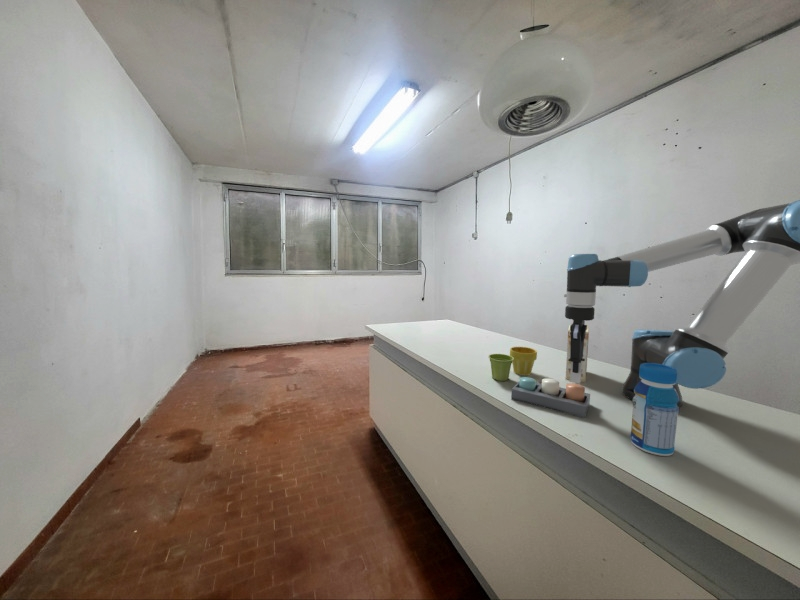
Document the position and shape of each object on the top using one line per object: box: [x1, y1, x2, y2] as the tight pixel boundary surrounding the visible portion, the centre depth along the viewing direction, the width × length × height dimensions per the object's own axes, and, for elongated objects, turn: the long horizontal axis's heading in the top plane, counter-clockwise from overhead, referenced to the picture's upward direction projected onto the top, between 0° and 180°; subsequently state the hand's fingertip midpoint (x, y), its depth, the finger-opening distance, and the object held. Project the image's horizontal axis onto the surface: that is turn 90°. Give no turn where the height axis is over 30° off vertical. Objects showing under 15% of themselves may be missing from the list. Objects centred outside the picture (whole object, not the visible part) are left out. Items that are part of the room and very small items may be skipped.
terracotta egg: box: [565, 382, 586, 403], centre depth 92 cm, size 5×5×4 cm
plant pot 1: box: [488, 353, 514, 382], centre depth 118 cm, size 9×9×9 cm
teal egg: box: [519, 376, 537, 391], centre depth 101 cm, size 5×5×4 cm
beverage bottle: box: [629, 363, 680, 457], centre depth 71 cm, size 8×8×20 cm
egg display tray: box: [510, 380, 591, 419], centre depth 97 cm, size 21×11×4 cm, turn 52°
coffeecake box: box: [564, 323, 590, 383], centre depth 120 cm, size 15×7×20 cm, turn 148°
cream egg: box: [541, 378, 560, 397], centre depth 97 cm, size 5×5×4 cm
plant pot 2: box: [509, 346, 538, 376], centre depth 124 cm, size 10×10×10 cm
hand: (575, 381), depth 92 cm, fingers closed
